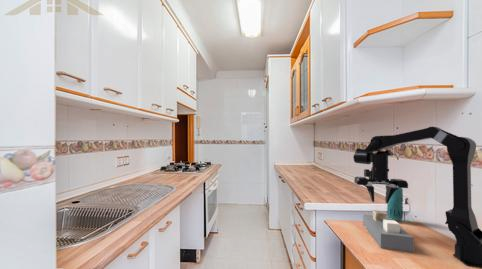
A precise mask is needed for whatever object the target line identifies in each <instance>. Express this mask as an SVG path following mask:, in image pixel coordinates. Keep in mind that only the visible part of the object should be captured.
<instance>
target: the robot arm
mask: <svg viewBox="0 0 482 269" xmlns="http://www.w3.org/2000/svg"><path fill="white" fill-rule="evenodd" d="M430 139H432V140H434V141H436V142H438V144H439V143H440V144H441V145H443V146H444V147H446V149H447V154H448V157H449V159H450V161H451V163H452V192H453V193H452V195H453V196H452V197H453V207H452V209H449V210H446V211H445V218H446V221H445V223H444V224H445V225H447V228H448V230H449V231H450V232H451V233H452V234H453V235H454V237H455V239H456V243H454V253H453V254H452V256H453V257H455V258H456V259H458V261H460V262H461V263H463V264H464V265H466V266H467V267H468V266H469V267H477V268H482V230H481V228H480V227H479V224H478V221H477V218H476V215H475V213H474V210H473V208H472V207H473V206H472V174H471V173H472V172H471V171H472V170H471V169H472V168H471V165H472V162H473V160H474V157H475V154H476V148H477V143H476V142H475V140H473V139H471V138H470V137H464V136H459V135H456V134H453V133H451V132H448V131H446V130H444V129H442V128H440V127H437V126H429V127H426V128H422V129H417V130H411V131H408V132H404V133H403V132H401V133H398V134H394V135H393V134H389V135H388V134H387V135H373V136H372V137H371V139H370V141H369V143H368V145H367V146H366V147H365V148H356V151H355V152H354V155H353V156H352V157H353V161H354V163H356V164H362V165H370V164H371V165H372V166H371V170H370V169H367V168H366V169H365V168H364V169H363V176H355V177H354V179H353V180H354V183H355V184H356V185H357V186H364V188H366V189H367V190H366V191H368V194H369V197H370V200H371V202H372V203H374V202H375V186H373V185H374V184H375V185H385V204H387V203H388V202H389V200H390V198H391V196H392V195H393V193H394V192H395V191H396V190H399V188H402V189H409V183H408V181H407V180H405V179H402V178H401V179H400V178H391V179H392V180H391V181H390V178H389V172H390V169H389V157H390V156H395V153H393V152H392V151H391V150H390V149H391V148H393V147H396V146H398V145H402V144H407V143H413V142H419V141H424V140H430ZM374 152H375V153H374ZM397 186H398V187H399V188H397Z"/></svg>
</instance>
